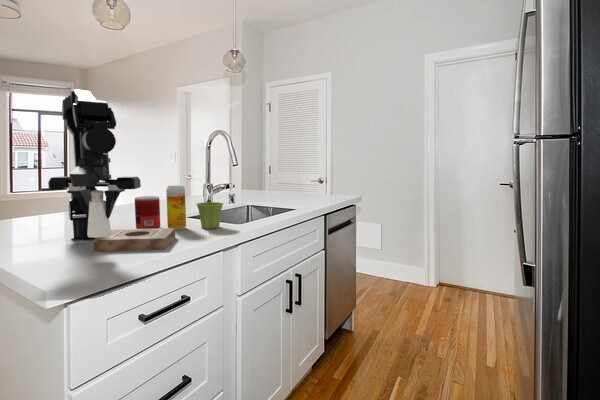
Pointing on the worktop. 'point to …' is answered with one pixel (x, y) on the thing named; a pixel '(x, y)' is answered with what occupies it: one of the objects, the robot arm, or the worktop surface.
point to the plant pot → (210, 214)
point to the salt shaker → (98, 216)
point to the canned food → (147, 212)
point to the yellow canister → (176, 207)
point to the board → (135, 239)
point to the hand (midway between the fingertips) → (98, 218)
